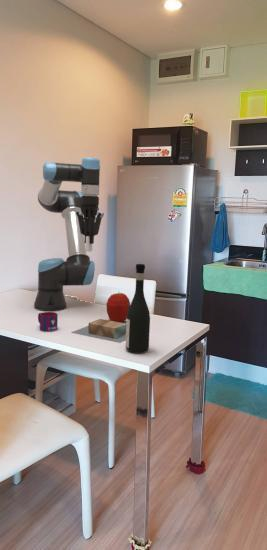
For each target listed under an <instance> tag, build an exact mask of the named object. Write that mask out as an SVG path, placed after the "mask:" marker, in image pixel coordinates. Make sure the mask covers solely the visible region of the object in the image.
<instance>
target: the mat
mask: <svg viewBox="0 0 267 550" xmlns="http://www.w3.org/2000/svg"><path fill="white" fill-rule="evenodd" d="M88 326H89V325H87V326H84V327H81V328H79V329H77V330H73V331H71V334H75V335H76V334H77V335H80V336H85V337H90V338H94V339H99V340H105V341H109V342H114V343H118V344H121V343H123V342H126V334H125V335H122V336H120V337H118V338H116V339H113V338H108V337H104V336H99V335H94V334H89V333H88Z"/></svg>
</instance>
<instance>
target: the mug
mask: <svg viewBox="0 0 267 550" xmlns="http://www.w3.org/2000/svg"><path fill="white" fill-rule="evenodd" d="M58 318H59V315H58V313H57V312H55V311H42V312H39V313H38V314H37V320H38V323H39V330H40V332H44V333H46V332H47V333H51V332H55V331H57V330H58Z"/></svg>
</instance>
